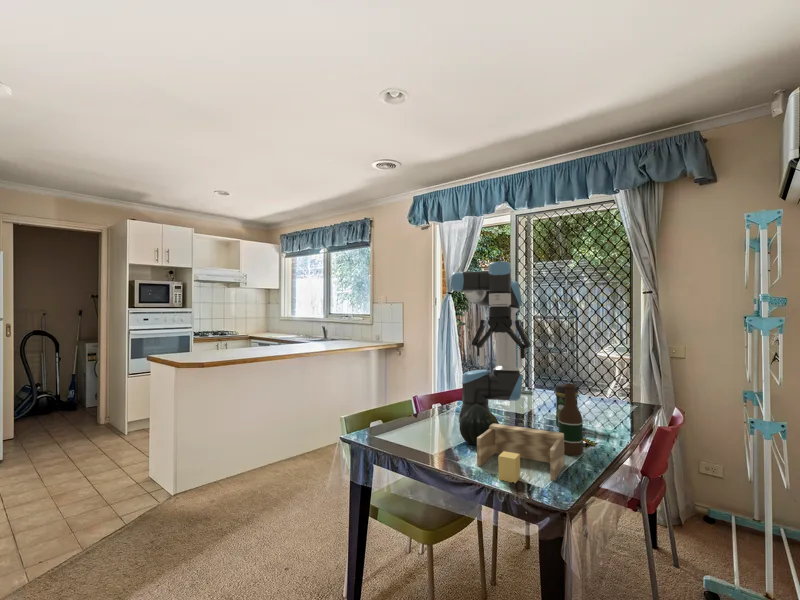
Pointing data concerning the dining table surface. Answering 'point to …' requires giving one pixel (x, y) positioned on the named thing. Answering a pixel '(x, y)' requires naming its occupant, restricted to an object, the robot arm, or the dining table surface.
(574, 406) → the beer bottle
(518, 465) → the block
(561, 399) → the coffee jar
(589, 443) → the lily flower
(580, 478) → the dining table surface
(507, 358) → the robot arm
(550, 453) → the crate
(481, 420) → the squash
